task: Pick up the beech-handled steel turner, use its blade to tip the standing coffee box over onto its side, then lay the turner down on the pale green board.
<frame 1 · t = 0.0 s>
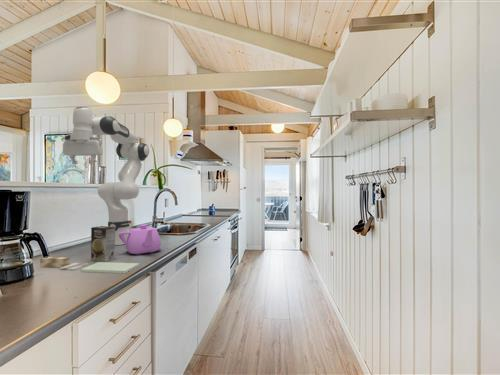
hand: (82, 164, 137), 48 cm above the table, tool pointing down, fingers open, 8 cm apart
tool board: (111, 268, 114), on the table
turner: (67, 267, 117), on the table
teapot: (144, 252, 144), on the table
coffee box: (103, 260, 129), on the table
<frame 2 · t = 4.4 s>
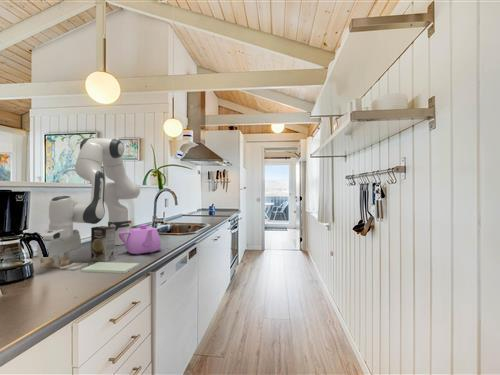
hand: (61, 263, 117), 2 cm above the table, tool pointing down, fingers closed on turner, 2 cm apart
turner: (67, 267, 117), on the table, touching gripper
everything else where it was.
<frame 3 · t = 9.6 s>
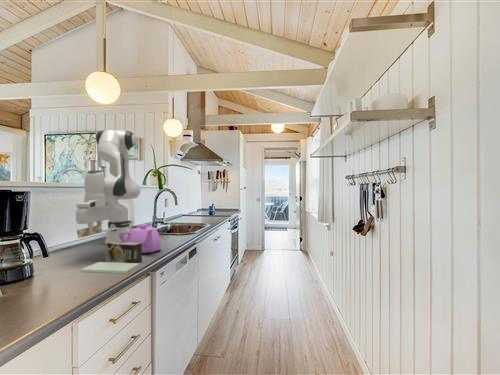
hand: (94, 230, 129), 14 cm above the table, tool pointing down, fingers closed on turner, 3 cm apart
turner: (100, 232, 128), point 13 cm above the table, tilted 14°, touching gripper
coffee box: (110, 251, 127), point 4 cm above the table
everything else where it was.
when the fingers open (4 cm above the table, at t = 14.7 s): turner drops 2 cm, resting on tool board.
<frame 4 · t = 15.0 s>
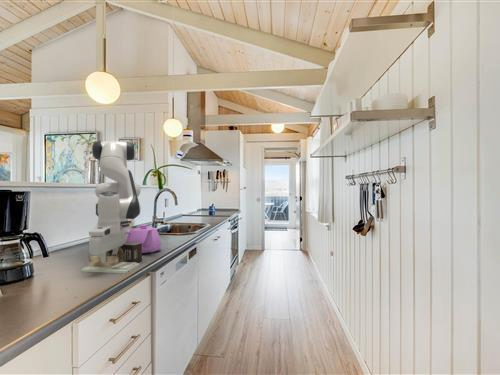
hand: (109, 260, 114), 4 cm above the table, tool pointing down, fingers open, 5 cm apart
turner: (116, 266, 114), point 1 cm above the table, touching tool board
everything else where it was.
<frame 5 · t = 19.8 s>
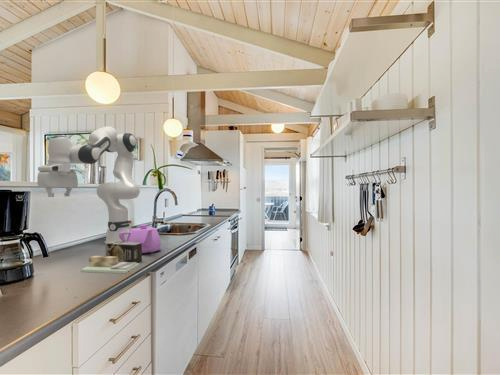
hand: (59, 196, 128), 31 cm above the table, tool pointing down, fingers open, 8 cm apart
nothing on the table moved.
at the end: coffee box tilted 89°; turner inside the target area (0.5 cm from its centre), point 1.0 cm above the table; the gripper is holding nothing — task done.
